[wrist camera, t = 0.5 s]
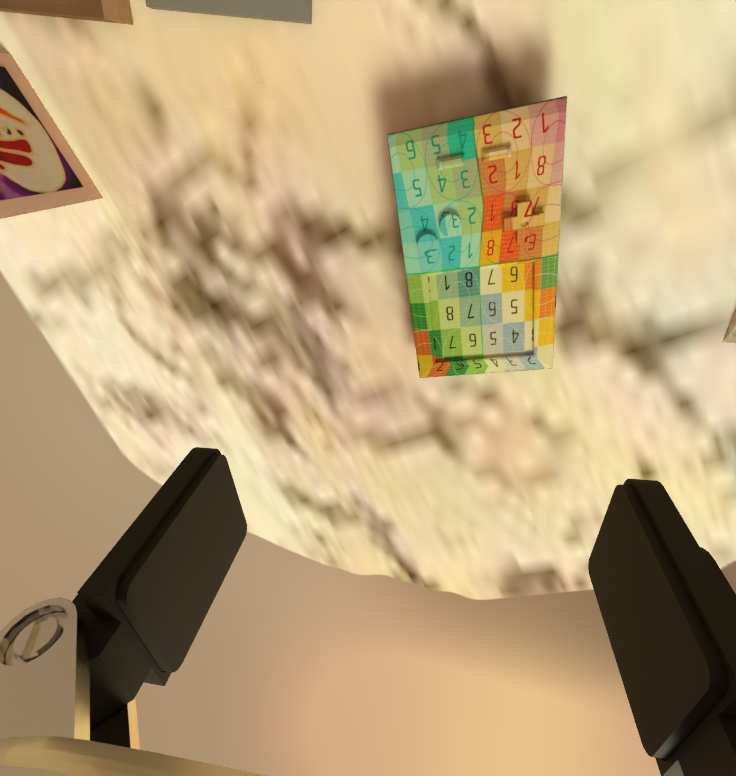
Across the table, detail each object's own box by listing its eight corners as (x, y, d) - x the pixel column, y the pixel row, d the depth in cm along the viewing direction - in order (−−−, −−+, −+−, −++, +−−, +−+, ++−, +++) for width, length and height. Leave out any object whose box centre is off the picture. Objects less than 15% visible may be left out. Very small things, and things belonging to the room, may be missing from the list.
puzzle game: (570, 94, 25) (554, 373, 35) (554, 99, 29) (544, 349, 39) (385, 134, 28) (419, 383, 38) (393, 133, 32) (421, 359, 42)
